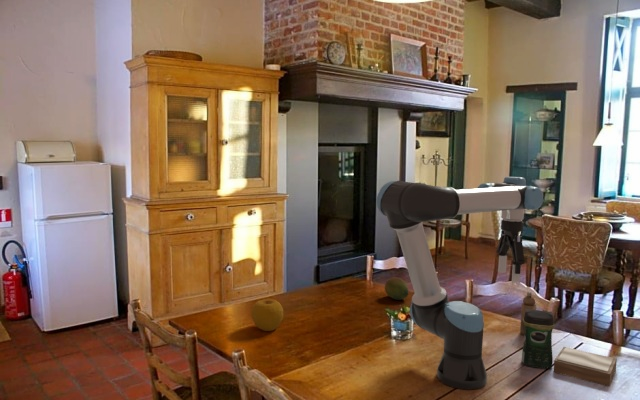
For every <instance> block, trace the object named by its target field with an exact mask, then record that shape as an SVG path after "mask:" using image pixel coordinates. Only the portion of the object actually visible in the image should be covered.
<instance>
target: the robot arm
mask: <svg viewBox="0 0 640 400" xmlns="http://www.w3.org/2000/svg"><path fill="white" fill-rule="evenodd" d="M543 202H544V193H543V191H542V189H541V188H539V187H538V186H532V185H527V181H526V178H525V177H521V176H505V177H504V178H503V182H483V183H481V184H479V185H478V186H477V188H463V189H455V188H454V187H452V186H435V185H431V184H426V183H421V182H408V181H404V180H390V181H388V182H386V183H385V184H384V185H382V186H381V188H380V190H379V192H378V193H377V196H376V206H377V209H378V211H379V212H380V213H381V214H382V215H384V216H385V217H386V219H387V222H388V225H389V228H390V229H392V230H394V231H395V232H396V235H397V238H398V242H399V244H400V247H401V251H402V255H403V258H404V261H405V265H406V269H407V271H408V275H409V278H410V282H411V285H412V288H413V291H414V294H413V295H412V296H411V302H410V304H411V305H410V306H409V315H410V318H411V319H412V322H413V323H414V324H415V325H417V326H418V327H419V328H420V329H422V330H424V331H426V332H429V333H431V334H433V335H435V336H437V337H439V338H440V339H442V340H443V352H442V355H441V358H440V361H439V364H438V365H437V370H436V377H437V379H438V380H439V381H440V382H441V383H442V384H444V385H446V386H448V387H451V388H453V389H454V388H455V389H458V390H459V389H460V390H478V389H481V388H483V387H484V386H486V384H487V377H488V375H487V374H488V373H487V371H486V367H485V364H484V360H483V342H484V341H483V340H484V327H485V322H484V314H483V311H482V310H481V308H479V307H478V306H476V305H474V304H473V303H470V302H464V301H460V300H452V301H450V300H449V297H448V293H447V290H446V289H445V288H444V287H441V285H440V282H439V279H438V274H437V271H436V268H435V264H434V261H433V257H432V254H431V249H430V245H429V243H428V242H429V241H428V239H427V236H426V232H425V229H424V225H423V223H427V222H433V221H434V222H435V221H441V220H442V221H443V220H450V219H454V218H456V217H457V216H458V215H467V214H477V213H479V214H480V213H490V212H499V211H501V214H500V215H501V221H500V237H499V241H498V244H497V245H498V246H497V248H496V252H497V254H498V270H497V273H498V274H506V273H507V261H508V256H509V255H508V251H509V249H510V251H511V256H512V260H513V262H512V263H511V265H512V272H511V283H513V284H514V283H516V284H517V283H518V284H519V283H521V275H522V265H525V264H526V263H525V255H524V248H523V247H524V246H523V236H522V235H519V232H523V231H524V221H523V220H524V219H525V213H526V211H525V210H527V211H535V210H538V209H539V208H541V206H542V205H543Z"/></svg>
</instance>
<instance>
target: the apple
mask: <svg viewBox="0 0 640 400" xmlns="http://www.w3.org/2000/svg"><path fill="white" fill-rule="evenodd" d="M250 312H251V313H250V314H251V316H250V317H251V319H252V321H253V323H254V325H255V326H256V327H257V328H258V329H259V330H261V331H264V332H271V331H274V330H277V329H278V328H279V326H280V325H281V323H282V321H283V318H284V308H283V306H282V305H281V303H280V302H279V301H277V299H271V298H266V299H261V300H257V301H256V302H255V303H254V304H253V306H252V307H251V310H250Z"/></svg>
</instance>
